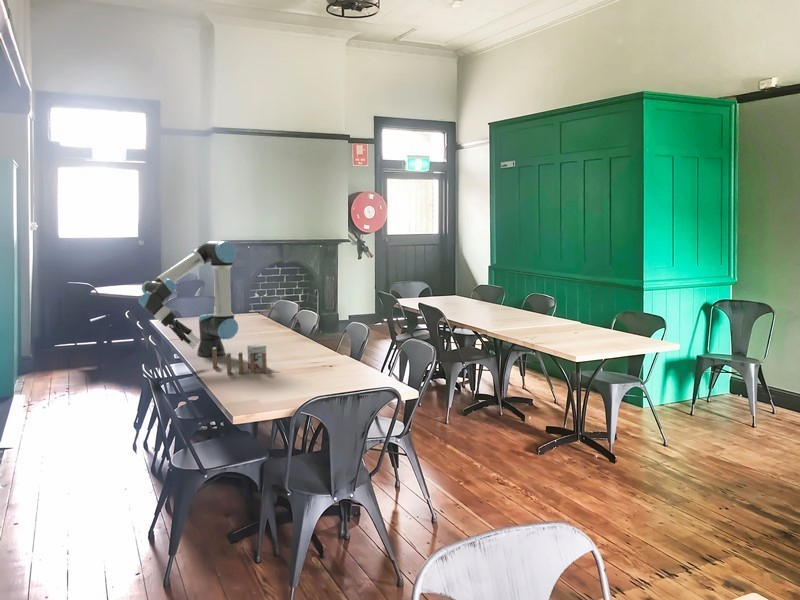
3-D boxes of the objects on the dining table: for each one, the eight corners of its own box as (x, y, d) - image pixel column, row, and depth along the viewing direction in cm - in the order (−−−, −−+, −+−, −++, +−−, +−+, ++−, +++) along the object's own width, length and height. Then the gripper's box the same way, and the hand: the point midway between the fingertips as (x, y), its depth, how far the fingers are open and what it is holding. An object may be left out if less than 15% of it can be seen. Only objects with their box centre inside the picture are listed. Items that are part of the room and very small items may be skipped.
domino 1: (228, 372, 344) (227, 353, 342) (231, 372, 344) (230, 352, 343) (227, 374, 339) (226, 355, 337) (230, 374, 339) (229, 354, 338)
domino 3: (251, 371, 345) (250, 352, 344) (254, 371, 346) (254, 351, 344) (250, 373, 340) (250, 354, 339) (254, 373, 341) (253, 353, 339)
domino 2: (239, 372, 344) (239, 352, 343) (243, 371, 345) (242, 352, 343) (239, 374, 340) (238, 354, 338) (242, 374, 340) (241, 354, 339)
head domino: (214, 366, 359) (213, 347, 358) (217, 366, 359) (216, 347, 358) (212, 368, 354) (212, 349, 353) (216, 368, 354) (215, 349, 353)
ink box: (251, 369, 350) (250, 347, 348) (247, 368, 353) (246, 345, 352) (267, 367, 355) (266, 345, 353) (263, 365, 359) (262, 343, 357)
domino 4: (263, 371, 346) (262, 351, 345) (266, 370, 346) (265, 351, 345) (262, 373, 341) (261, 353, 340) (266, 373, 342) (265, 353, 340)
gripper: (164, 318, 361) (195, 345, 365) (155, 325, 337) (188, 354, 341) (174, 308, 361) (205, 335, 365) (166, 314, 337) (198, 343, 341)
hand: (197, 344), depth 353 cm, fingers open, 13 cm apart
